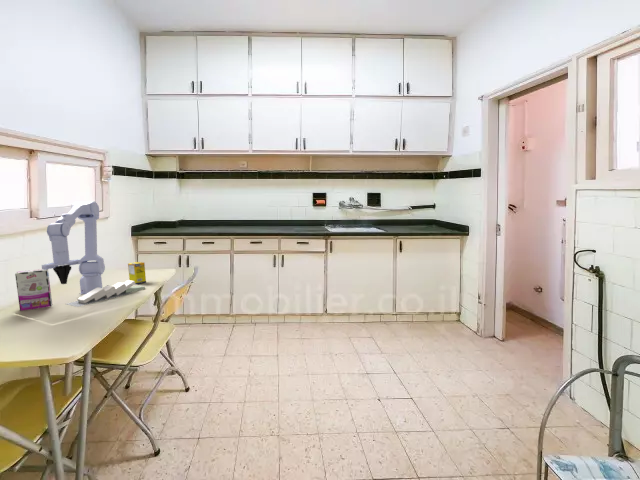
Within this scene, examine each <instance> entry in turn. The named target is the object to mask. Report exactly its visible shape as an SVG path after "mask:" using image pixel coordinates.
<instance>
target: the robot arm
mask: <svg viewBox="0 0 640 480" xmlns="http://www.w3.org/2000/svg"><path fill="white" fill-rule="evenodd" d="M77 219H78V220H81V221H83V223H84V254H85V255H84V256H83V257H81V258H79V259H71V260H70V252H69V245H68V244H69V243H68V236H69V235H70V231H71V230H72V229H71V228H72V227H74V225H75V224H76V220H77ZM99 219H100V206H99V205H98V202H97V201H74V202H73V203H72V204H71V208H70V211H68V213H62V214H61V216H60V217H59V218H58V219H57V220H56V221H55V222H52V223H50V224H48V225H47V229H46V234H47V236H48V239H49V241H50V242H51V251H52V259H53V261H52V262H51V263H50V262H49V263H45V264H44V263H43V264H41V269H42V270H47V269H48V270H50V269H52V270H53V271H54V272H55V274H56V275H57V277H58V280H59V282H60V284H61V285H66V284H67V285H68V278H69V274H70V272H71V270H72V266H74V265H78V272H79V274H80V275H82V276H81V277H80V279H79V287H80V289H79V290H80V293H79V295H85V294H87V293H88V292H90V291H92V290H93V289H95V288H97V287H99V288H103V280H102V279H103V278H102V275H103V274H104V272H105V271H106V266H105V265H106V264H105V262H104V260H105V259H104V258H103V257H102V256H100V255H99V254H98V235H97V234H98V229H97V221H98V220H99Z"/></svg>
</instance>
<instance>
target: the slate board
mask: <svg viewBox="0 0 640 480" xmlns="http://www.w3.org/2000/svg"><path fill="white" fill-rule="evenodd" d="M132 294H133V292H129V293H124V292H122V293H120V294H119V295H112V296H110V297H108V298H105V297H101V298H100V299H98V300H96V301H94V300H90V301H88V302H86V303H80V302H78V300H76V301H71V302H67V303H66V305H68V306H71V307H72V306H73V307H77V308H79V307H83V306H86V305H91V304H95V303H99V302H103V301H106V300H111V299H115V298H119V297H123V296H127V295H132Z"/></svg>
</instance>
